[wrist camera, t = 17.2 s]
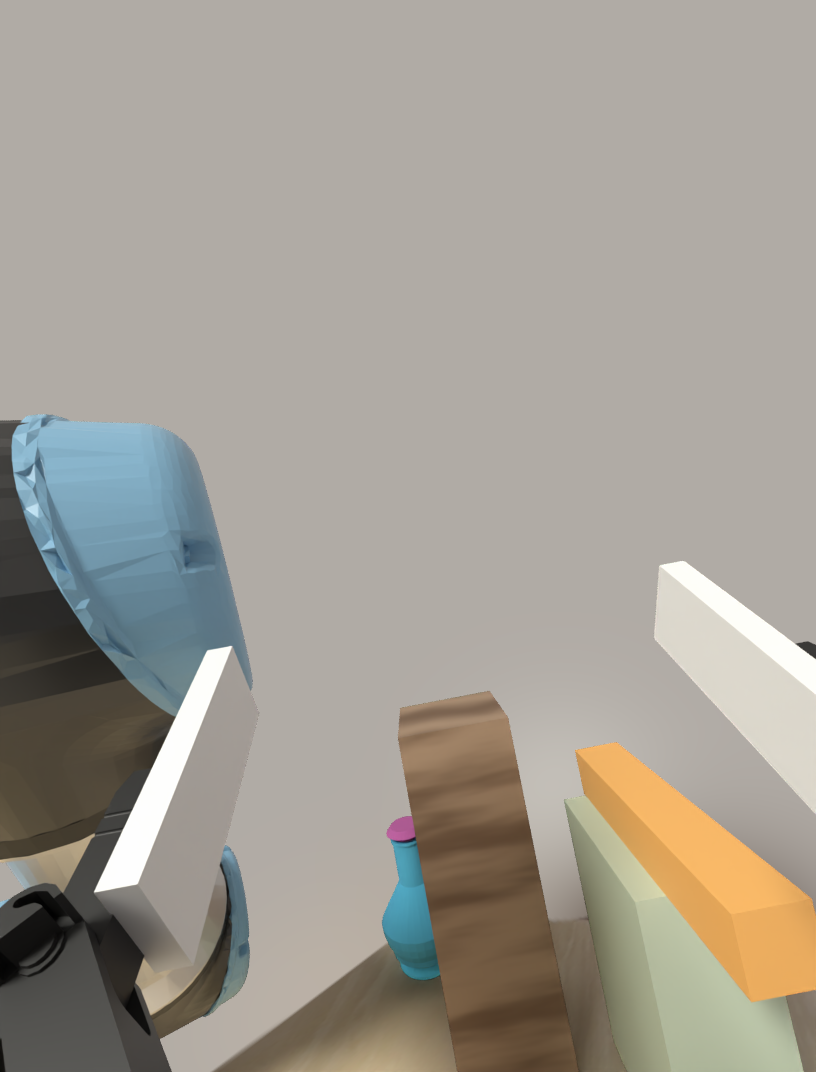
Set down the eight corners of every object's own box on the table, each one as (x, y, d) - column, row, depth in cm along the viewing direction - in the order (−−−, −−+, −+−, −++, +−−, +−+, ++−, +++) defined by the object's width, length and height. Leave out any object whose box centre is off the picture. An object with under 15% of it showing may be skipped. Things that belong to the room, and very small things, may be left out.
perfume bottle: (374, 960, 57) (352, 830, 58) (432, 915, 62) (411, 797, 64) (421, 1006, 49) (395, 856, 51) (482, 951, 55) (457, 817, 56)
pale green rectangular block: (844, 1243, 28) (757, 878, 30) (714, 1270, 28) (635, 901, 30) (701, 1024, 42) (647, 783, 44) (613, 1042, 42) (563, 799, 44)
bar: (833, 986, 23) (811, 898, 23) (751, 1002, 23) (731, 914, 23) (625, 785, 45) (616, 742, 45) (584, 793, 45) (575, 750, 45)
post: (580, 1079, 40) (507, 717, 42) (463, 1103, 40) (398, 738, 42) (546, 979, 50) (489, 690, 52) (452, 997, 50) (400, 707, 52)
